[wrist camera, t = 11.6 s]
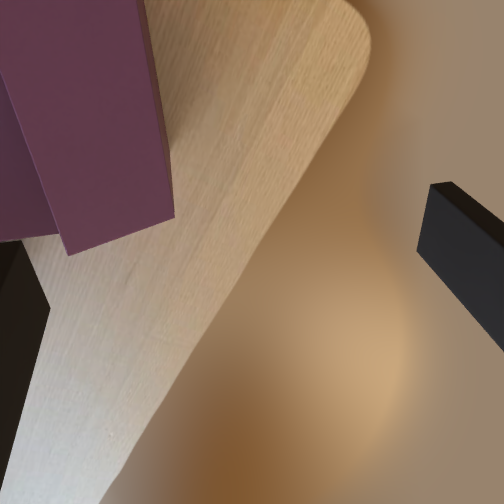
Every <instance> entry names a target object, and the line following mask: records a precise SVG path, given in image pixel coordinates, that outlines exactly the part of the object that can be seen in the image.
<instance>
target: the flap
mask: <svg viewBox="0 0 504 504" xmlns="http://www.w3.org/2000/svg"><path fill="white" fill-rule="evenodd" d="M0 73H1V76H2V78H3V81H4V84H5V87H6V89H7V92H8V95H9V97H10V100H11V103H12V106H13V108H14V111H15V114H16V116H17V119H18V122H19V125H20V127H21V130H22V133H23V136H24V138H25V141H26V144H27V146H28V149H29V152H30V155H31V157H32V160H33V163H34V166H35V168H36V171H37V174H38V176H39V179H40V182H41V185H42V187H43V190H44V193H45V195H46V198H47V201H48V204H49V206H50V209H51V212H52V215H53V217H54V220H55V223H56V225H57V228H58V231H59V234H60V236H61V239H62V242H63V244H64V247H65V250H66V253H67V255H68V256H71V255H74V254H76V253H79V252H82V251H85V250H87V249H90V248H93V247H96V246H98V245H101V244H104V243H107V242H109V241H112V240H115V239H118V238H120V237H123V236H126V235H129V234H131V233H134V232H137V231H140V230H142V229H145V228H148V227H151V226H153V225H156V224H159V223H162V222H164V221H167V220H170V219H173V218H175V215H174V210H173V204H172V199H171V193H170V188H169V182H168V177H167V171H166V165H165V160H164V154H163V149H162V143H161V138H160V132H159V127H158V121H157V115H156V110H155V104H154V99H153V93H152V88H151V82H150V77H149V71H148V65H147V60H146V54H145V49H144V43H143V38H142V32H141V27H140V21H139V15H138V10H137V4H136V0H0Z"/></svg>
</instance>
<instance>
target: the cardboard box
mask: <svg viewBox="0 0 504 504" xmlns="http://www.w3.org/2000/svg"><path fill="white" fill-rule="evenodd" d="M136 4H137V10H138V15H139V21H140V27H141V32H142V38H143V43H144V49H145V54H146V60H147V65H148V71H149V77H150V82H151V88H152V93H153V99H154V104H155V110H156V115H157V121H158V127H159V132H160V138H161V143H162V149H163V154H164V160H165V165H166V171H167V177H168V182H169V188H170V193H171V199H172V204H173V210H174V199H173V187H172V174H171V162H170V151H169V145H168V139H167V133H166V127H165V121H164V116H163V110H162V104H161V98H160V92H159V86H158V80H157V74H156V69H155V63H154V57H153V51H152V45H151V39H150V33H149V28H148V22H147V16H146V10H145V4H144V0H136ZM52 234H59V231H58V228H57V225H56V223H55V220H54V217H53V215H52V212H51V209H50V206H49V204H48V201H47V198H46V195H45V193H44V190H43V187H42V185H41V182H40V179H39V176H38V174H37V171H36V168H35V166H34V163H33V160H32V157H31V155H30V152H29V149H28V146H27V144H26V141H25V138H24V136H23V133H22V130H21V127H20V125H19V122H18V119H17V116H16V114H15V111H14V108H13V106H12V103H11V100H10V97H9V95H8V92H7V89H6V87H5V84H4V81H3V78H2V76H1V73H0V242H1V241H9V240H16V239H23V238H30V237H38V236H45V235H52Z"/></svg>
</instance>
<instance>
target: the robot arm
mask: <svg viewBox="0 0 504 504" xmlns="http://www.w3.org/2000/svg"><path fill="white" fill-rule="evenodd" d="M417 252H418V253H419V254H420V256H421V257H422V258H423V259H424V260H425V261H426V263H427V264H428V265H429V266H430V267H431V268H432V270H433V271H434V272H435V273H436V274H437V275H438V276H439V278H440V279H441V280H442V281H443V282H444V283H445V284H446V285H447V287H448V288H449V289H450V290H451V291H452V293H453V294H454V295H455V296H456V297H457V298H458V299H459V301H460V302H461V303H462V304H463V305H464V306H465V308H466V309H467V310H468V311H469V312H470V313H471V314H472V316H473V317H474V318H475V319H476V320H477V321H478V323H479V324H480V325H481V326H482V327H483V328H484V330H486V332H487V333H488V334H489V335H490V336H491V338H492V339H493V340H494V341H495V342H496V343H497V345H498V346H499V347H500V348H501V349H502V350H503V351H504V222H502V221H501V220H500V219H498V218H497V217H496V216H495V215H493V214H492V213H491V212H490V211H488V210H487V209H486V208H485V207H483V206H482V205H481V204H480V203H478V202H477V201H476V200H474V199H473V198H472V197H471V196H469V195H468V194H467V193H465V192H464V191H463V190H462V189H461V188H459V187H458V186H456V185H455V184H454V183H453V182H444V183H436V184H431V185H430V189H429V194H428V198H427V203H426V208H425V213H424V218H423V223H422V227H421V232H420V236H419V241H418V246H417ZM50 309H51V308H50V306H49V303H48V301H47V299H46V296H45V294H44V292H43V289H42V287H41V285H40V282H39V280H38V278H37V275H36V273H35V271H34V268H33V266H32V264H31V261H30V259H29V256H28V254H27V252H26V249H25V247H24V245H23V242H22V240H19V241H12V242H4V243H0V490H1V487H2V483H3V479H4V476H5V472H6V469H7V465H8V461H9V458H10V454H11V450H12V447H13V443H14V439H15V436H16V432H17V429H18V425H19V421H20V418H21V414H22V410H23V407H24V403H25V399H26V396H27V392H28V389H29V385H30V381H31V378H32V374H33V370H34V367H35V363H36V359H37V356H38V352H39V349H40V345H41V341H42V338H43V334H44V330H45V327H46V323H47V319H48V316H49V312H50Z"/></svg>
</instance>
